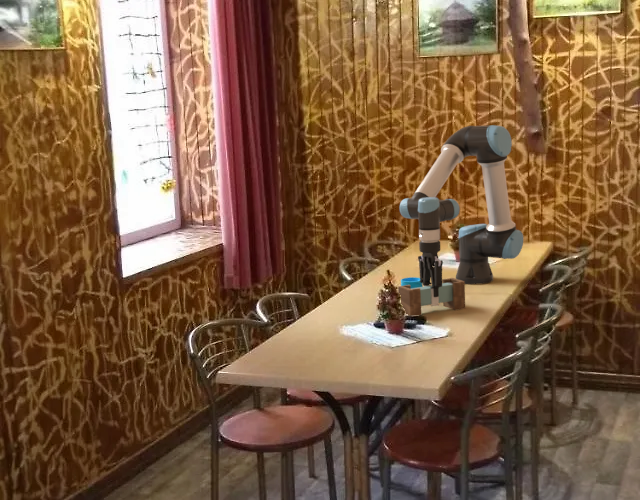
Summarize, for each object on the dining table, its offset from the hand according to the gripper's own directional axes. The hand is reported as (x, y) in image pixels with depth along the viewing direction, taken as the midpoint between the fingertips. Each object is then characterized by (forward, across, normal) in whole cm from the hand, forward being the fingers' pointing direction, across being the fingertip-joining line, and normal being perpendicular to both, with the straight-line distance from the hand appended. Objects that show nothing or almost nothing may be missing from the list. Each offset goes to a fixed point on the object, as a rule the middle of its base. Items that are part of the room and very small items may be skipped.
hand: (431, 304), depth 340 cm
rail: (0, 0, 0) cm, 1 cm away
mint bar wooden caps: (+3, 0, 0) cm, 3 cm away
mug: (+3, -20, +4) cm, 21 cm away
